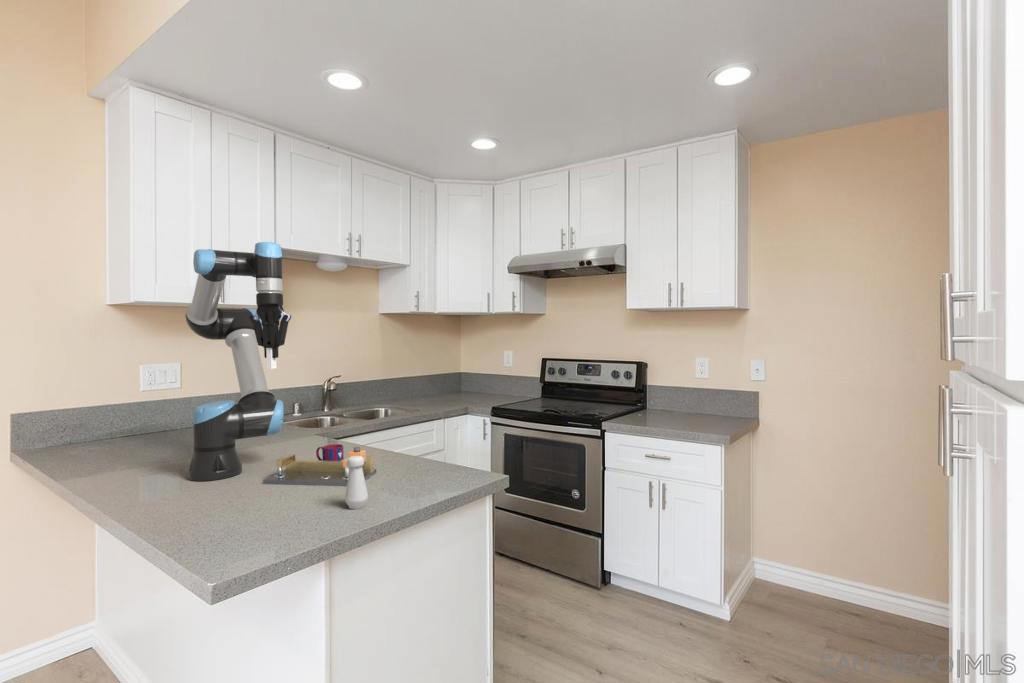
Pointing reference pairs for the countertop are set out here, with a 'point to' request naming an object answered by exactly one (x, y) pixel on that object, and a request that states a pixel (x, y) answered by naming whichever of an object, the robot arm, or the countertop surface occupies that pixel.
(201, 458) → the robot arm
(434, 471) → the countertop surface
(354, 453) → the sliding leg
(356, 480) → the salt shaker
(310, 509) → the countertop surface
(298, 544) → the countertop surface
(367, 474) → the plate
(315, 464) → the brass l-shaped beam
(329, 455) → the mug
